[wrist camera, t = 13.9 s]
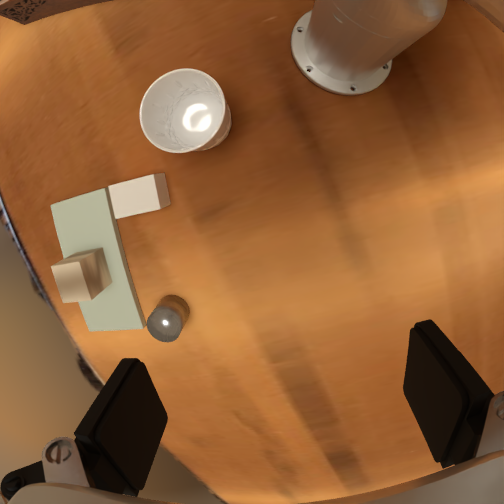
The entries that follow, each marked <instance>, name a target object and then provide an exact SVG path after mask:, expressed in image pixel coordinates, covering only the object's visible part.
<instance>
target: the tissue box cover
mask: <svg viewBox="0 0 504 504" xmlns="http://www.w3.org/2000/svg"><path fill="white" fill-rule="evenodd" d="M107 1H112V0H0V15H1V16H3V17H6V18H9V19H11V20H14V21H16V22H19V23H21V24H24V25H25V24H28V23H31V22H34V21H36V20H39V19H42V18H45V17H48V16H51V15H55V14H58V13H61V12H65V11H68V10H72V9H76V8H80V7H84V6H88V5H92V4H97V3H102V2H107Z"/></svg>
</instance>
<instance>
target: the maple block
mask: <svg viewBox="0 0 504 504" xmlns="http://www.w3.org/2000/svg"><path fill="white" fill-rule="evenodd" d="M51 268H52V271H53V275H54V278H55V281H56V284H57V287H58V290H59V293H60V295H61V298H62V301H63V303H67V302H79V301H90V300H93V299H94V298H95V297H96V296H97V295H98V294H99V293H101V292H102V291H103V290H104V289H105V288H106V287H107V286H109V285H110V284H111V283H112V278H111V275H110V272H109V268H108V265H107V261H106V258H105V254H104V250H103V247H102V248H96V249H91V250H86V251H81V252H76V253H74V254H72V255H70V256H68V257H67V258H65V259H63V260H61V261H60V262H58V263H56V264H54V265H53V266H51Z"/></svg>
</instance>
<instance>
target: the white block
mask: <svg viewBox="0 0 504 504" xmlns="http://www.w3.org/2000/svg"><path fill="white" fill-rule="evenodd" d="M108 187H109V192H110V197H111V201H112V206H113V211H114V215H115V219H118V218H122V217H127V216H131V215H136V214H140V213H145V212H149V211H154V210H159V209H162V208H164V207H166V206H168V205H170V204H171V203H170V198H169V193H168V188H167V183H166V178H165V173H159V174H152V175H148V176H144V177H141V178H137V179H133V180H129V181H125V182H122V183H118V184H115V185H111V186H108Z"/></svg>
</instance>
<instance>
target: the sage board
mask: <svg viewBox="0 0 504 504" xmlns="http://www.w3.org/2000/svg"><path fill="white" fill-rule="evenodd" d="M51 210H52V214H53V218H54V223H55V227H56V231H57V235H58V238H59V242H60V246H61V250H62V253H63V257H64V259H65V258H67V257H68V256H70V255H72V254H74V253H76V252H81V251H86V250H91V249H96V248H102V247H103V250H104V254H105V258H106V261H107V265H108V268H109V272H110V275H111V278H112V283H111V284H110V285H109V286H107V287H106V288H105V289H104V290H103V291H102V292H101V293H99V294H98V295H97V296H96V297H95V298H94V299H93V300H90V301H79V302H78V303H79V305H80V308H81V311H82V313H83V316H84V319H85V321H86V324H87V326H88V329H89V331H111V330H130V329H144V327H145V326H146V322H145V319H144V316H143V313H142V310H141V307H140V304H139V301H138V298H137V295H136V291H135V288H134V285H133V281H132V278H131V275H130V271H129V268H128V264H127V261H126V257H125V253H124V249H123V246H122V242H121V238H120V234H119V230H118V226H117V221H116V219H115V215H114V211H113V206H112V201H111V197H110V192H109V187H107V188H103V189H100V190H96V191H93V192H90V193H87V194H83V195H80V196H77V197H74V198H71V199H67V200H64V201H61V202H58V203H55V204H52V205H51Z"/></svg>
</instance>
